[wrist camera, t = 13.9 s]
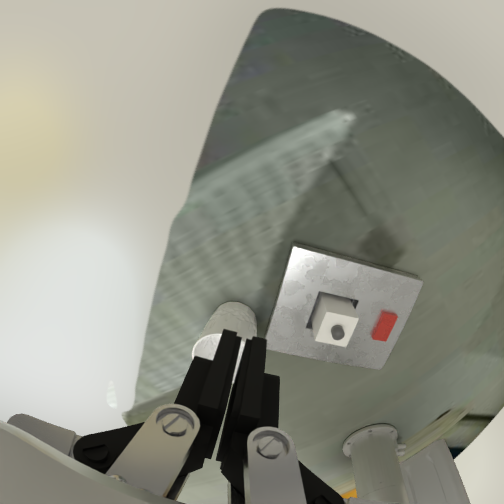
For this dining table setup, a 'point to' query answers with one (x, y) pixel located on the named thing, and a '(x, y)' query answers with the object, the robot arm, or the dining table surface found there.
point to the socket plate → (345, 285)
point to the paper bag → (433, 477)
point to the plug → (333, 319)
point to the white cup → (228, 318)
